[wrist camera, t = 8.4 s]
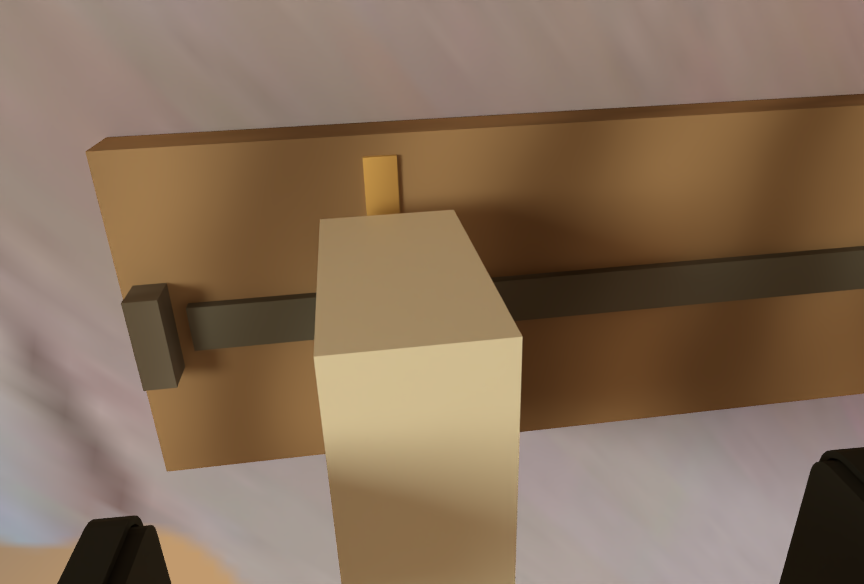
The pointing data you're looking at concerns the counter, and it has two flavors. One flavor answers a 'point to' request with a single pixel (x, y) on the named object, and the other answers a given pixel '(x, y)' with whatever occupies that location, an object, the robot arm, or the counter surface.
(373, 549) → the fader cap
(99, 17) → the counter surface
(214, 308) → the fader board
